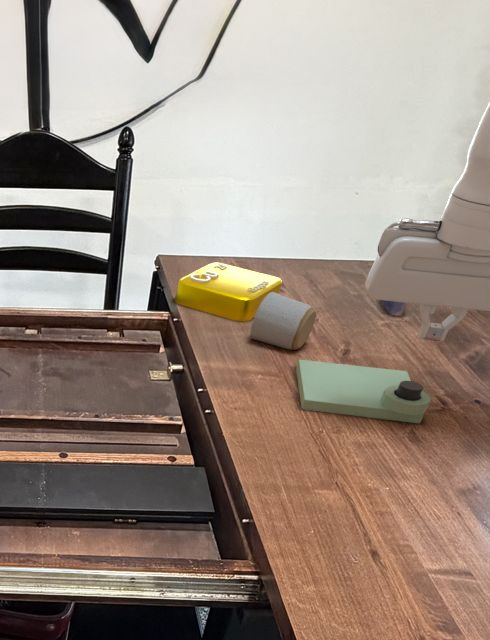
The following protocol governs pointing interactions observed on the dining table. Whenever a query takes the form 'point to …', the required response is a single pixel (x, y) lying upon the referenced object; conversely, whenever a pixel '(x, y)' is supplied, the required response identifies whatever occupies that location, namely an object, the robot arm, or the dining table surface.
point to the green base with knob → (357, 391)
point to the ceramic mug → (283, 322)
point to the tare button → (409, 390)
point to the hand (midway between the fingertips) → (429, 338)
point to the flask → (394, 307)
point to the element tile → (226, 291)
